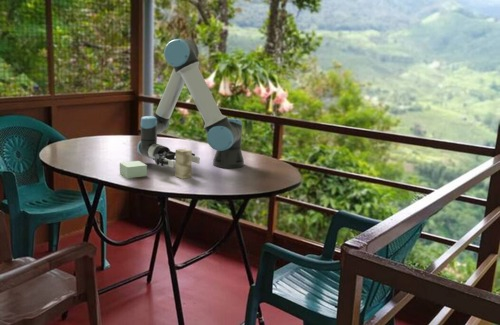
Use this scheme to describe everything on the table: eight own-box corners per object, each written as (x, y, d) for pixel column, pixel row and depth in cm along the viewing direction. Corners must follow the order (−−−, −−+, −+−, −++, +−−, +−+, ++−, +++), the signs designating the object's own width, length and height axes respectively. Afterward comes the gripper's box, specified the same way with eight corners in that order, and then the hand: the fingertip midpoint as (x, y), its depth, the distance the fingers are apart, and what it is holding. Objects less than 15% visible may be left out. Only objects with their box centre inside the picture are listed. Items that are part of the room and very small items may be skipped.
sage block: (139, 171, 233) (139, 160, 231) (146, 176, 225) (146, 165, 224) (119, 173, 228) (119, 162, 226) (127, 178, 220) (127, 167, 219)
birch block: (184, 174, 230) (185, 148, 227) (191, 177, 226) (191, 150, 224) (175, 176, 227) (175, 149, 224) (181, 178, 223) (182, 151, 220)
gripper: (181, 158, 247) (208, 167, 232) (136, 164, 231) (161, 174, 216) (182, 142, 246) (209, 151, 230) (135, 148, 229) (161, 157, 214)
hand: (186, 162), depth 223 cm, fingers open, 13 cm apart
